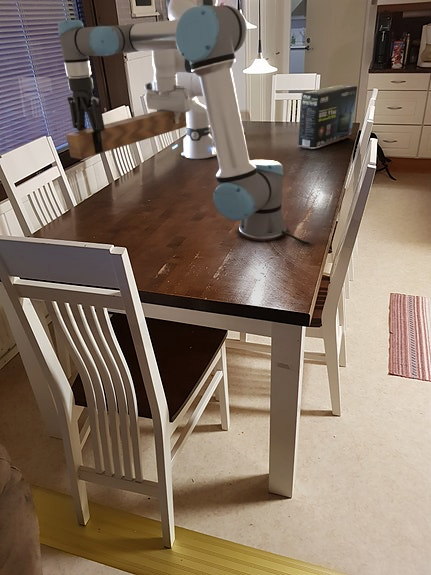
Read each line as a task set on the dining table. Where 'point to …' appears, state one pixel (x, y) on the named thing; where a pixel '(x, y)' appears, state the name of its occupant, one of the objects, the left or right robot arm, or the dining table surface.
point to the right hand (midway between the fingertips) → (93, 150)
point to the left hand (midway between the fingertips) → (169, 122)
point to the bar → (124, 132)
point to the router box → (326, 115)
